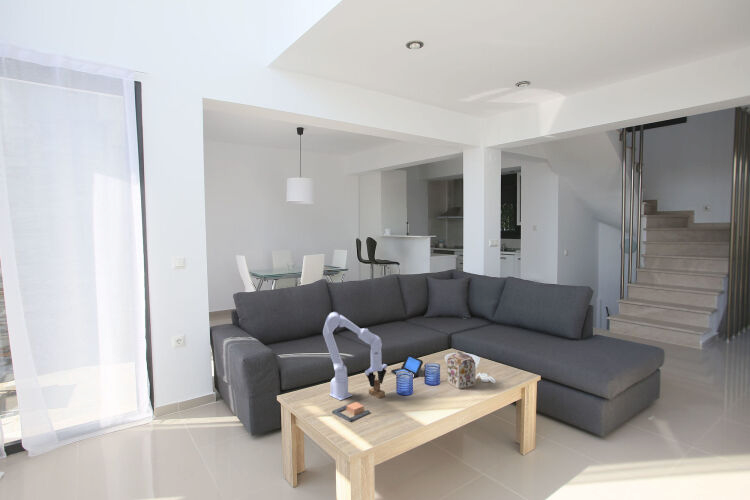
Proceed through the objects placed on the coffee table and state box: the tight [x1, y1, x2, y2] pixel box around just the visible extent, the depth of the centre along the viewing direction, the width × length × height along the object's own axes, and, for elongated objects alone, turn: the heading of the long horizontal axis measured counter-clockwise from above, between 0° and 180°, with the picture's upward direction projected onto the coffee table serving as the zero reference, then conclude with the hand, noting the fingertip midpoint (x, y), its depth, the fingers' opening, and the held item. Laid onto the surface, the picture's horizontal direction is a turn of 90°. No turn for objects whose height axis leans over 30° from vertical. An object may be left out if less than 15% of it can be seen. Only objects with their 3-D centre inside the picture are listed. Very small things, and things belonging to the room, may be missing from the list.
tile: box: [346, 401, 365, 416], centre depth 200 cm, size 6×6×3 cm
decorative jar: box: [446, 351, 477, 390], centre depth 232 cm, size 12×12×18 cm
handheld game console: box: [390, 354, 424, 379], centre depth 248 cm, size 16×13×9 cm
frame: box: [331, 402, 370, 423], centre depth 198 cm, size 13×12×1 cm
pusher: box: [368, 378, 386, 399], centre depth 219 cm, size 8×4×8 cm, turn 45°
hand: (376, 384), depth 219 cm, fingers open, 6 cm apart
